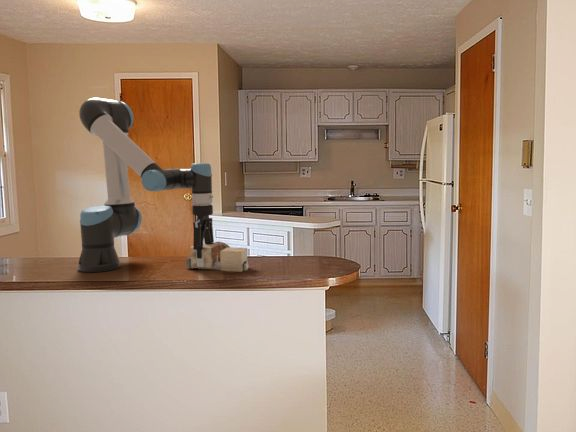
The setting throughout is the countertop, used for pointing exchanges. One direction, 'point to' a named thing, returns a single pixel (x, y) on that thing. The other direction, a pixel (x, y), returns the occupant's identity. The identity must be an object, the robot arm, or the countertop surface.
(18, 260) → the countertop surface
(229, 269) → the rail
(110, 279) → the countertop surface
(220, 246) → the seashell
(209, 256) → the slotted tan cube
